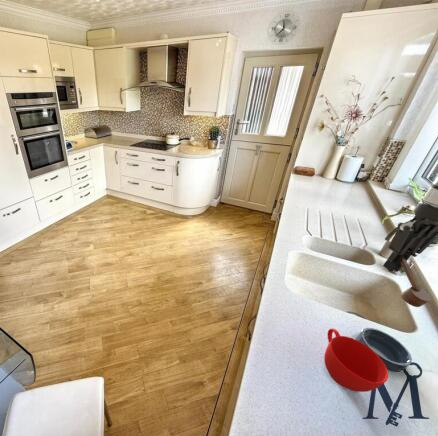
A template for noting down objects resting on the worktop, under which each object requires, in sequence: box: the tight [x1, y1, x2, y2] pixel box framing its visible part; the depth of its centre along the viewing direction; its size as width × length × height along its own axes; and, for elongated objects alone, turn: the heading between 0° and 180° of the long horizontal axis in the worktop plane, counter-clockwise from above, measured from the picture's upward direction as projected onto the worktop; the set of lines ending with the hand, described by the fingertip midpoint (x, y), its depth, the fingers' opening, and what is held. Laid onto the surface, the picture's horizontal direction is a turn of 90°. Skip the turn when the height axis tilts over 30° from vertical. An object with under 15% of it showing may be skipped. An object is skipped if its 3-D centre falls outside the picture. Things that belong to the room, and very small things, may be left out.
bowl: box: [355, 327, 413, 373], centre depth 75 cm, size 12×12×4 cm
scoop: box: [400, 257, 432, 308], centre depth 72 cm, size 16×5×8 cm, turn 1°
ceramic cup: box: [323, 328, 389, 393], centre depth 69 cm, size 13×17×10 cm
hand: (390, 268), depth 76 cm, fingers closed on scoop
